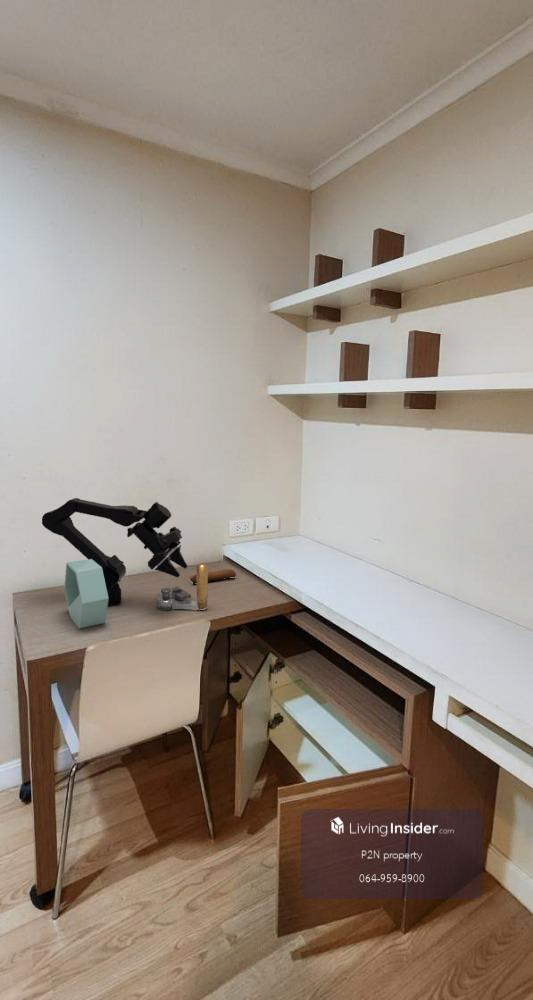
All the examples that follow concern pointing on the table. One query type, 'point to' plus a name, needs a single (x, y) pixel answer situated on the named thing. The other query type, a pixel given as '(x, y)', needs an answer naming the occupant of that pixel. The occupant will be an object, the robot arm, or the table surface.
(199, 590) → the link
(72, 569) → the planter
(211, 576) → the sunglasses case
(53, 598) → the table surface
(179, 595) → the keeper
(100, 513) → the robot arm
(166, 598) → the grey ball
